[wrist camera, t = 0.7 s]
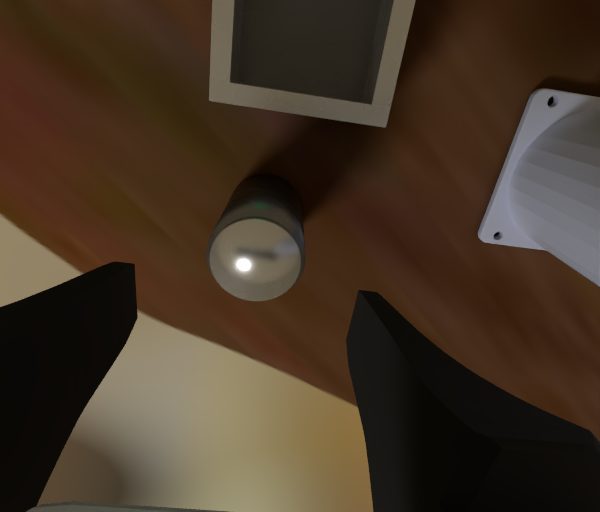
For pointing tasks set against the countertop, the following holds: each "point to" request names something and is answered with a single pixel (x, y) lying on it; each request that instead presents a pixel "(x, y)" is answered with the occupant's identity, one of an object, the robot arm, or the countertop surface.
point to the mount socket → (309, 56)
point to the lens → (259, 240)
